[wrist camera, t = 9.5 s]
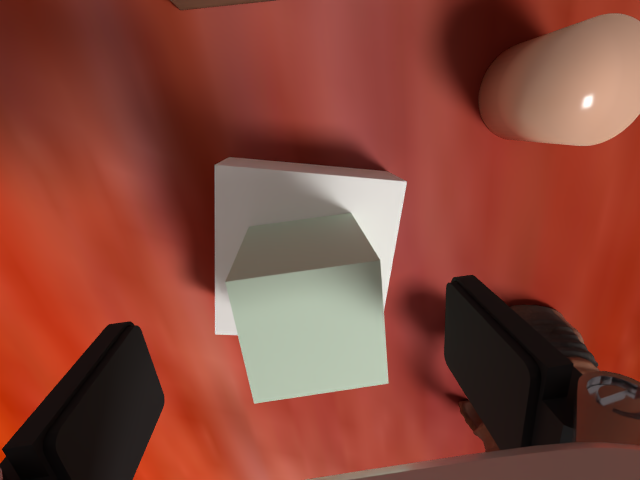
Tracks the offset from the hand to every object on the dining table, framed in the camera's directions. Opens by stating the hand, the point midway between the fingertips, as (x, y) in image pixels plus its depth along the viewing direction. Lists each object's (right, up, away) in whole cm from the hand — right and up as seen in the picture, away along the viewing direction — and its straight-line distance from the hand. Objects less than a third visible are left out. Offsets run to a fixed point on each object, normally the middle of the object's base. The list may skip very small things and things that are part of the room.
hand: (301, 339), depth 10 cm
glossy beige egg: (+12, +11, +8) cm, 18 cm away
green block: (0, +2, +7) cm, 7 cm away
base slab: (0, +3, +11) cm, 11 cm away
